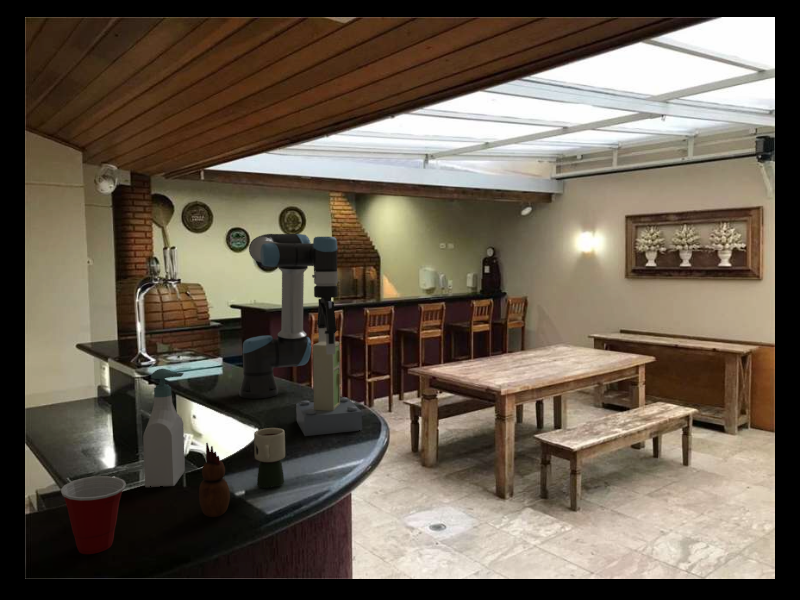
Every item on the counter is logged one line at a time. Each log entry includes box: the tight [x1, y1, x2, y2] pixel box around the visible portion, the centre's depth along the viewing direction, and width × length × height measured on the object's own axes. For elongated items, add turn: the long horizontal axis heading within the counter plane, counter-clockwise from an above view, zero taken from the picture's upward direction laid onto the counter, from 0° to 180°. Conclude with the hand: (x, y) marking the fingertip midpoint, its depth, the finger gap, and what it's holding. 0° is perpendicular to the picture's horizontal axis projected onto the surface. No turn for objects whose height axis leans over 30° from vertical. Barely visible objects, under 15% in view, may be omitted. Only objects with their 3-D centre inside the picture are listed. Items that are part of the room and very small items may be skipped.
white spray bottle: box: [142, 368, 186, 488], centre depth 145 cm, size 11×8×27 cm
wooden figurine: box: [198, 442, 231, 518], centre depth 124 cm, size 7×6×15 cm
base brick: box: [295, 396, 363, 437], centre depth 191 cm, size 18×18×7 cm
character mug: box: [253, 427, 286, 489], centre depth 140 cm, size 11×7×13 cm, turn 4°
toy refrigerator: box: [312, 341, 341, 411], centre depth 190 cm, size 8×7×21 cm
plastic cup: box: [60, 475, 127, 555], centre depth 110 cm, size 11×11×12 cm
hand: (326, 350), depth 190 cm, fingers open, 13 cm apart
